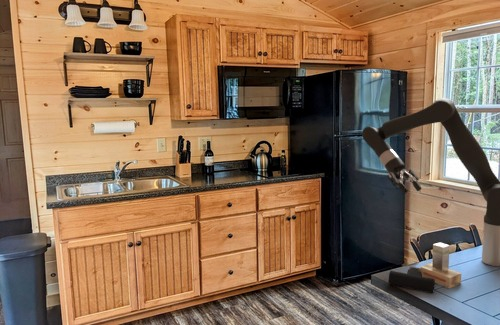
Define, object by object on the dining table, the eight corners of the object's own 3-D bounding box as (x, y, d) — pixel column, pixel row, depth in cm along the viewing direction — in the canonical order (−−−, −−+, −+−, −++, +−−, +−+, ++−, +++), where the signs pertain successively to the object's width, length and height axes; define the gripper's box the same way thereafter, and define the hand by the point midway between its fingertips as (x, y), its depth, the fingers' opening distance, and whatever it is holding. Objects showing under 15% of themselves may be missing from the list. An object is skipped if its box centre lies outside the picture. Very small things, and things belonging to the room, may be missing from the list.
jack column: (438, 267, 147) (439, 242, 146) (448, 270, 144) (449, 245, 143) (432, 269, 145) (433, 244, 144) (442, 273, 142) (442, 247, 141)
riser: (431, 272, 152) (432, 262, 152) (460, 283, 142) (461, 273, 141) (419, 276, 148) (420, 267, 148) (448, 288, 138) (449, 278, 138)
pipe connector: (395, 262, 151) (437, 269, 143) (395, 274, 152) (436, 282, 144) (388, 273, 141) (432, 281, 133) (388, 286, 142) (432, 296, 134)
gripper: (385, 158, 163) (407, 188, 155) (407, 155, 170) (429, 184, 162) (375, 168, 168) (396, 198, 160) (397, 165, 175) (418, 194, 167)
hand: (413, 191), depth 161 cm, fingers open, 8 cm apart
